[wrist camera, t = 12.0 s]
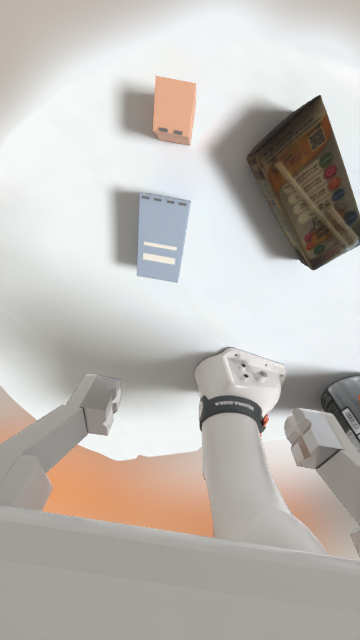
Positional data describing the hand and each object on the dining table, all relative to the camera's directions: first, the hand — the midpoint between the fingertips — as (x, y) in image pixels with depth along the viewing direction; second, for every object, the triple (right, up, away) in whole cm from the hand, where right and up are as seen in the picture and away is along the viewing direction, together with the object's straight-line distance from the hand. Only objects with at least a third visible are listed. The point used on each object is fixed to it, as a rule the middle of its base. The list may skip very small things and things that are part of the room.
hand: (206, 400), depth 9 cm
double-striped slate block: (-4, +18, +26) cm, 32 cm away
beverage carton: (+17, +23, +22) cm, 36 cm away
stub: (-2, +31, +18) cm, 35 cm away
